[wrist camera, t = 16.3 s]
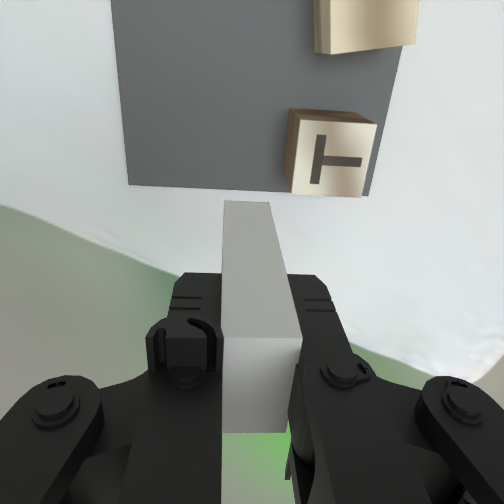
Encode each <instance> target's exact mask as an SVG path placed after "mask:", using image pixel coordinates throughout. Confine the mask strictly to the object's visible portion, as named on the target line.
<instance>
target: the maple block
mask: <svg viewBox="0 0 504 504" xmlns="http://www.w3.org/2000/svg"><path fill="white" fill-rule="evenodd" d="M313 10H314V52H315V53H323V54H330V55H331V54H339V53H347V52H355V51H363V50H371V49H379V48H387V47H395V46H403V45H411V44H415V43H416V33H417V22H418V11H419V0H313Z"/></svg>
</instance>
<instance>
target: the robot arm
mask: <svg viewBox="0 0 504 504" xmlns="http://www.w3.org/2000/svg"><path fill="white" fill-rule="evenodd" d="M145 339H146V350H147V360H148V370H147V371H146V372H144V373H143V374H141V375H140V376H138V377H136V378H134V379H132V380H129V381H126V382H123V383H120V384H116V385H112V386H109V387H104V388H101V389H98V388H97V386H96V385H95V384H94V382H93V381H91V380H89V379H87V378H84V377H82V376H71V375H70V376H69V375H64V376H60V377H56V378H52V379H48V380H46V381H44V382H42V383H40V384H38V385H36V386H34V387H33V388H31V389H30V390H29V391H28V392H27V393H26V394H25V395H23V396H22V397H21V398H20V399H19V400H18V401H17V402H16V403H15V404H14V405H13V407H12V408H11V409H10V410H9V411H8V412H7V413H6V415H5V416H4V417H3V418H2V419H1V420H0V504H221V469H222V459H221V458H222V433H285V432H286V428H287V423H288V419H289V425H290V432H291V444H290V448H289V453H288V459H287V464H286V470H285V480H290V476H291V475H292V483H293V490H294V495H295V496H294V497H295V504H504V410H503V409H502V408H501V407H500V406H499V405H498V404H497V403H496V402H495V401H494V400H493V399H492V398H491V397H490V396H489V395H488V394H486V393H485V392H484V391H482V390H481V389H480V388H479V387H477V386H475V385H473V384H471V383H469V382H467V381H465V380H462V379H459V378H455V377H451V376H436V377H434V378H432V379H430V380H428V381H427V382H426V383H425V385H424V387H423V389H422V390H418V389H414V388H410V387H407V386H403V385H399V384H395V383H392V382H389V381H386V380H383V379H381V378H379V377H377V376H376V374H375V372H374V371H373V370H372V368H371V367H370V365H369V364H368V363H367V362H366V361H365V360H363V359H362V358H361V357H360V356H358V355H356V354H354V353H353V352H352V349H351V347H350V344H349V342H348V339H347V337H346V334H345V332H344V329H343V327H342V324H341V322H340V319H339V316H338V314H337V312H336V309H335V306H334V304H333V301H331V296H330V294H329V291H328V289H327V286H326V285H325V284H324V283H323V282H322V281H321V280H320V279H318V278H317V277H316V276H315V275H300V274H287V273H286V269H285V265H284V261H283V257H282V253H281V249H280V245H279V241H278V237H277V233H276V229H275V225H274V221H273V217H272V213H271V209H270V205H269V202H247V201H224V217H223V244H222V272H221V273H186V272H185V273H184V274H183V275H182V276H181V277H180V278H179V279H178V280H177V281H176V282H175V284H174V288H173V293H172V299H171V302H170V306H169V311H168V316H167V318H164V319H161V320H160V321H159V322H157V323H156V324H155V325H153V327H151V328H150V330H149V332H148V334H147V335H146V337H145Z"/></svg>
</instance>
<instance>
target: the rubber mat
mask: <svg viewBox="0 0 504 504" xmlns="http://www.w3.org/2000/svg"><path fill="white" fill-rule="evenodd" d="M111 9H112V19H113V29H114V40H115V50H116V60H117V70H118V81H119V91H120V101H121V111H122V122H123V132H124V142H125V152H126V163H127V173H128V183H129V185H141V186H162V187H183V188H205V189H226V190H247V191H268V192H290V189H289V187H288V184H287V182H286V179H285V176H284V174H283V169H284V159H285V150H286V141H287V132H288V123H289V113H290V108H300V109H316V110H331V111H347V112H356V113H358V114H359V115H361V116H363V117H365V118H366V119H368V120H370V121H372V122H373V123H375V124H377V128H376V132H375V137H374V141H373V146H372V151H371V155H370V160H369V164H368V169H367V173H366V178H365V182H364V187H363V192H362V196H368V195H369V190H370V186H371V182H372V177H373V173H374V169H375V164H376V160H377V155H378V151H379V147H380V142H381V138H382V133H383V129H384V125H385V120H386V116H387V112H388V107H389V103H390V98H391V94H392V90H393V85H394V81H395V77H396V72H397V68H398V63H399V59H400V55H401V50H402V46H395V47H387V48H379V49H371V50H363V51H355V52H347V53H339V54H331V55H330V54H323V53H315V52H314V10H313V0H111ZM290 193H291V192H290Z"/></svg>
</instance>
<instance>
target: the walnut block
mask: <svg viewBox="0 0 504 504" xmlns="http://www.w3.org/2000/svg"><path fill="white" fill-rule="evenodd" d="M376 128H377V124H375V123H373V122H372V121H370V120H368V119H366V118H365V117H363V116H361V115H359V114H358V113H356V112H347V111H331V110H316V109H300V108H290V113H289V123H288V132H287V141H286V150H285V159H284V169H283V174H284V176H285V179H286V182H287V184H288V187H289V189H290V192H291V194H294V195H315V196H337V197H358V198H361V196H362V192H363V187H364V182H365V178H366V173H367V169H368V164H369V160H370V155H371V151H372V146H373V141H374V137H375V132H376Z"/></svg>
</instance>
